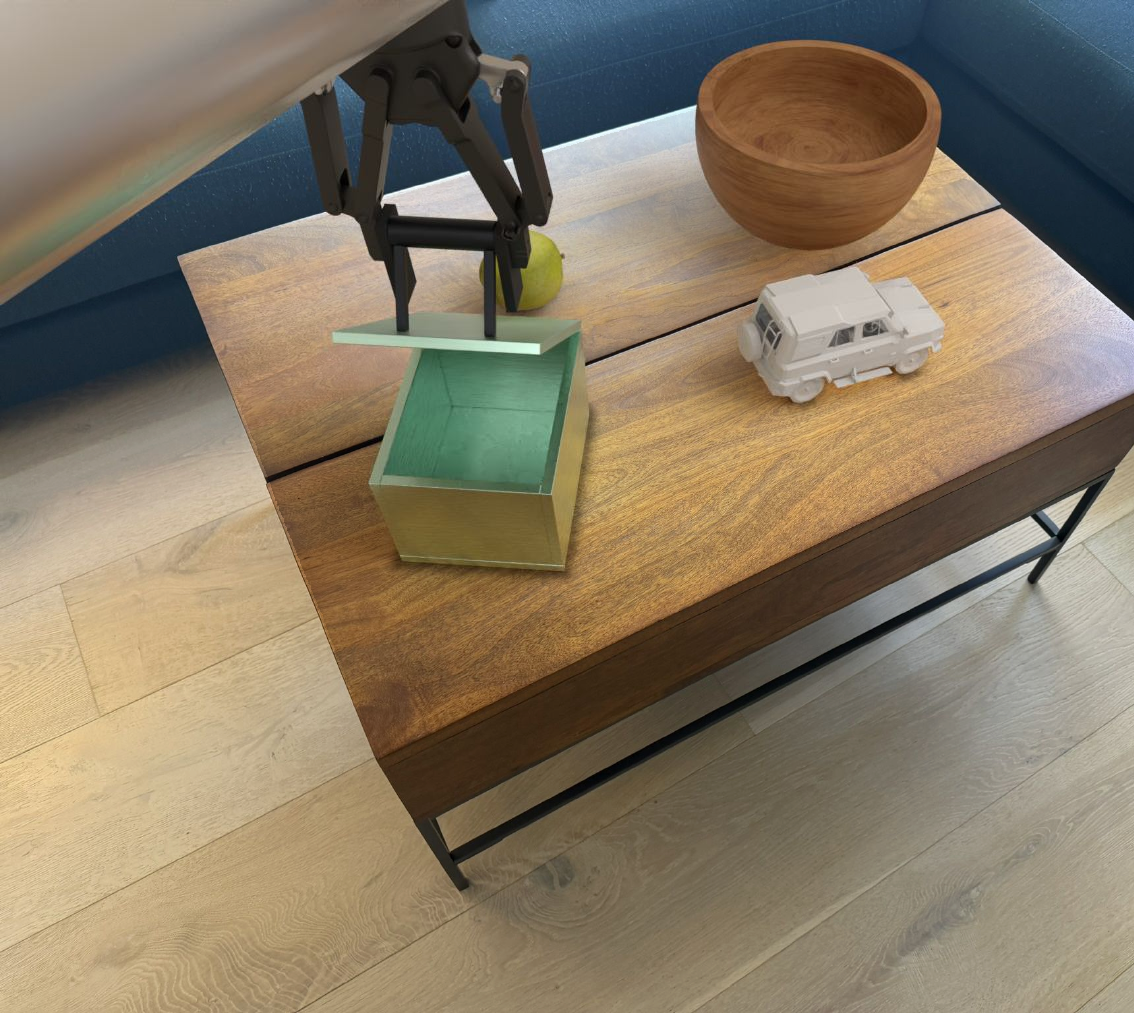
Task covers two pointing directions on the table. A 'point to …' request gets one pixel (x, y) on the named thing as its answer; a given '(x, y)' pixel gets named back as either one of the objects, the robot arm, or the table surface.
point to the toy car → (837, 331)
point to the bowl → (814, 140)
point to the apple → (535, 274)
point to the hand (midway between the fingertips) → (460, 296)
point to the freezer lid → (454, 327)
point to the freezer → (485, 457)
